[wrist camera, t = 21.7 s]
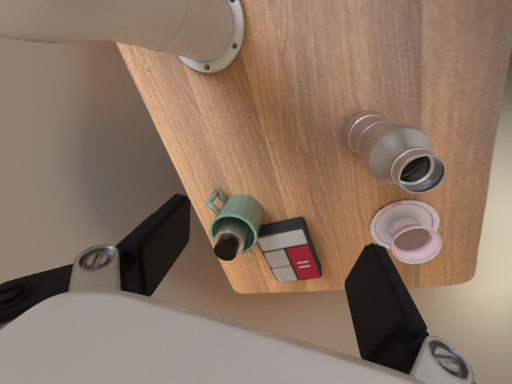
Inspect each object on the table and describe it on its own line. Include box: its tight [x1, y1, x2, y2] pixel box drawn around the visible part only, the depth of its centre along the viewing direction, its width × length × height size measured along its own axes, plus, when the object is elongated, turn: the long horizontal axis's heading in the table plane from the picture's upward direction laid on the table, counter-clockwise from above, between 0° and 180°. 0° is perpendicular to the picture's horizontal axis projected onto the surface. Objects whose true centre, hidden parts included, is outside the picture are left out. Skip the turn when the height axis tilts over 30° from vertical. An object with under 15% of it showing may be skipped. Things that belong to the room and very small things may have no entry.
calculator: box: [257, 217, 322, 283], centre depth 48 cm, size 11×4×15 cm
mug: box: [206, 190, 263, 254], centre depth 44 cm, size 13×10×8 cm
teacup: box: [370, 200, 442, 264], centre depth 39 cm, size 12×12×6 cm
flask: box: [214, 216, 250, 261], centre depth 42 cm, size 6×6×12 cm
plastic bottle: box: [344, 111, 447, 194], centre depth 27 cm, size 6×7×20 cm
